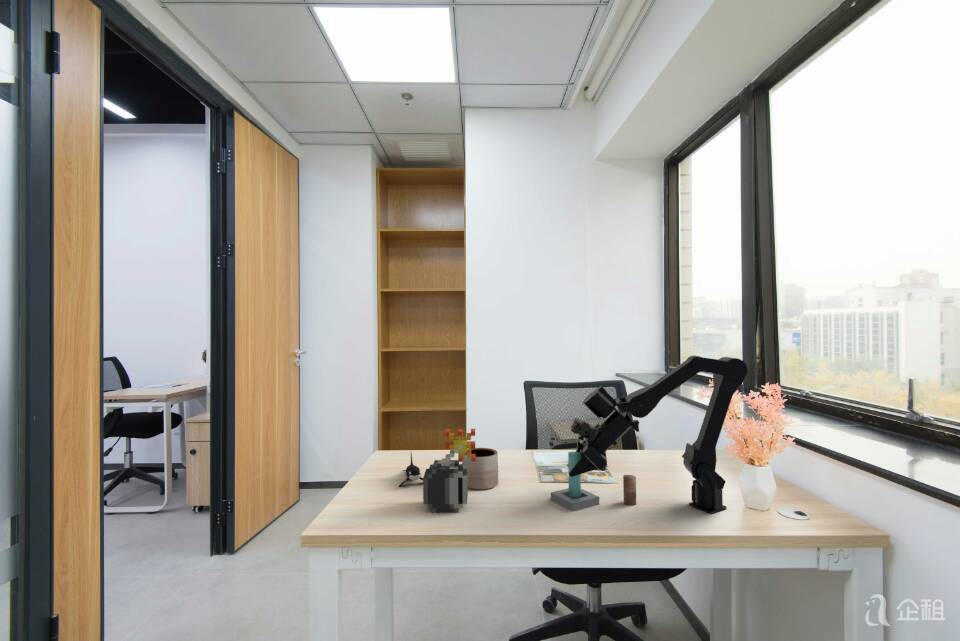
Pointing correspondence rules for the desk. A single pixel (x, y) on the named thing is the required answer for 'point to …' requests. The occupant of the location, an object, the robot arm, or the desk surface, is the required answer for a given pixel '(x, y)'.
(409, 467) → the toy
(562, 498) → the socket block
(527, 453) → the desk surface
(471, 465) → the planter
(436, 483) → the bomb
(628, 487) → the walnut pin
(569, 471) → the teal pin
